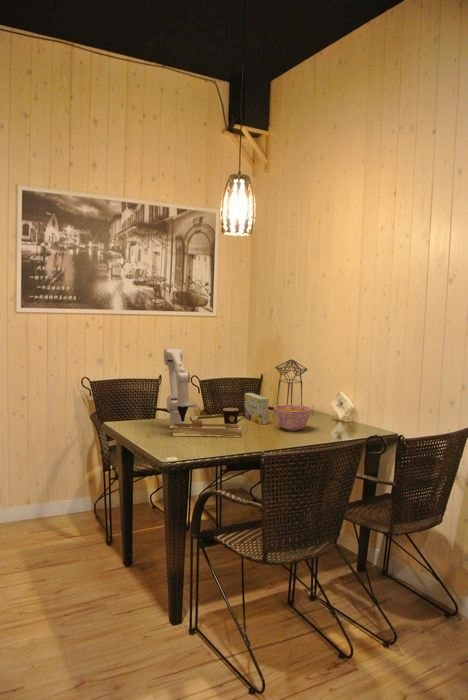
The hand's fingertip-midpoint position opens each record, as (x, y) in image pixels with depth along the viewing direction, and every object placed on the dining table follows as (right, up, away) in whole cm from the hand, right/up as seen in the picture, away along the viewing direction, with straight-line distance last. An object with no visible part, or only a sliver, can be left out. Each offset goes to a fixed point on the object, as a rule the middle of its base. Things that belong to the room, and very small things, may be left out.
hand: (182, 421), depth 288 cm
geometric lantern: (+61, -4, +49) cm, 78 cm away
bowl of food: (+58, -7, +15) cm, 60 cm away
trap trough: (+12, -7, 0) cm, 14 cm away
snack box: (+39, -5, +35) cm, 53 cm away
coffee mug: (+26, -6, +17) cm, 32 cm away
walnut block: (+7, -4, 0) cm, 8 cm away
